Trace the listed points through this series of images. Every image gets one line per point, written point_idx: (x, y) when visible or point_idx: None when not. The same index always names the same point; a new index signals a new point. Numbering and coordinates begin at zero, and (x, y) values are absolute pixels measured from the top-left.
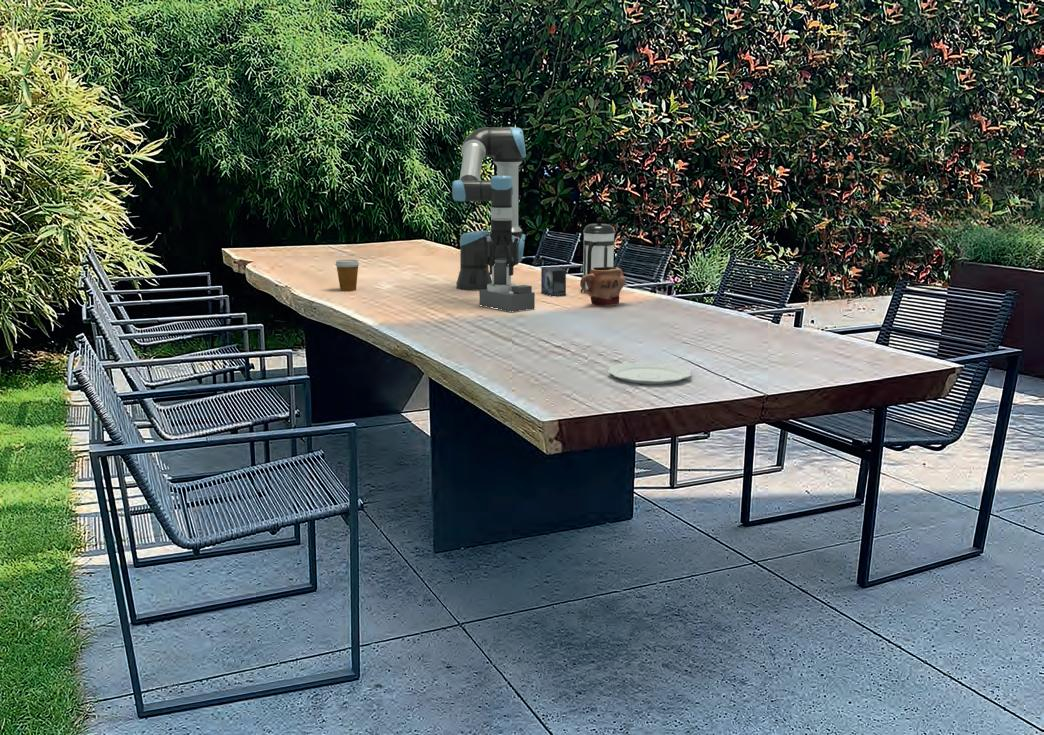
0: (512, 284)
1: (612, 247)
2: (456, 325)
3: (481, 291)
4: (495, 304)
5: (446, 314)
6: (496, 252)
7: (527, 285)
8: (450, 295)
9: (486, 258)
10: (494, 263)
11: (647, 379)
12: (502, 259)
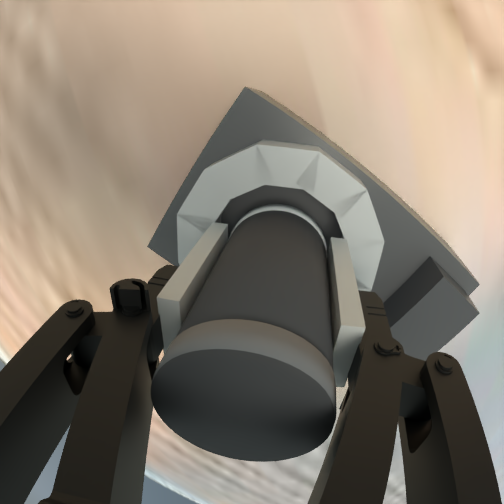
0: (355, 220)
1: None
2: (246, 468)
3: (165, 253)
4: None
5: None
6: (130, 461)
7: (459, 298)
8: (12, 15)
9: (75, 392)
10: (150, 322)
11: None
12: (273, 459)
